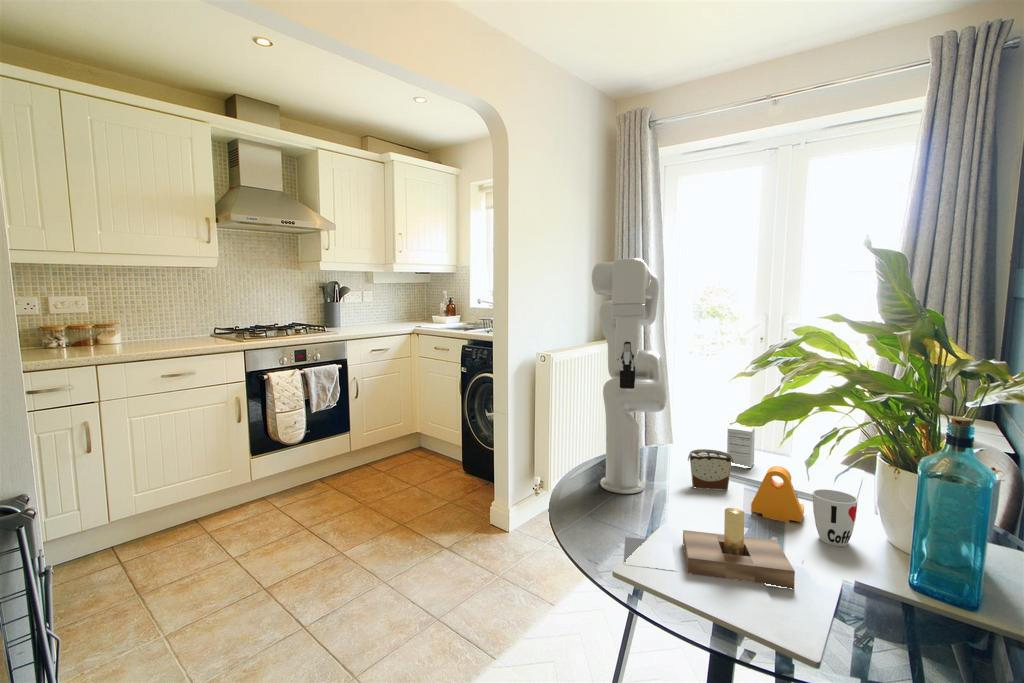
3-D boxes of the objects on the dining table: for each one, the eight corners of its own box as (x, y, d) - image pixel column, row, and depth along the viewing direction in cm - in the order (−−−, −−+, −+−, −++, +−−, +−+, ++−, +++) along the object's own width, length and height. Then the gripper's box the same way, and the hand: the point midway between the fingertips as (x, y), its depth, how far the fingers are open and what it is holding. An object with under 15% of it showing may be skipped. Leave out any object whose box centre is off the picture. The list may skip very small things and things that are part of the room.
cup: (825, 549, 99) (826, 503, 98) (803, 531, 107) (804, 488, 107) (865, 550, 99) (866, 503, 98) (840, 532, 107) (841, 489, 106)
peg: (722, 560, 95) (723, 507, 94) (741, 562, 94) (742, 508, 93) (725, 569, 91) (726, 514, 91) (745, 571, 90) (746, 516, 90)
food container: (727, 483, 139) (727, 449, 138) (733, 490, 132) (734, 455, 132) (683, 480, 141) (684, 447, 140) (687, 488, 135) (688, 453, 134)
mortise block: (682, 545, 101) (683, 530, 101) (775, 556, 96) (776, 540, 96) (688, 575, 89) (688, 557, 89) (794, 589, 84) (794, 571, 84)
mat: (625, 539, 104) (625, 536, 104) (673, 544, 101) (673, 542, 101) (623, 567, 92) (623, 564, 92) (677, 574, 90) (677, 571, 90)
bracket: (803, 514, 116) (805, 467, 116) (801, 525, 110) (802, 475, 110) (755, 504, 123) (756, 459, 122) (750, 514, 117) (752, 467, 116)
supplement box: (730, 460, 160) (731, 423, 160) (754, 463, 156) (755, 426, 155) (726, 465, 154) (726, 427, 154) (751, 470, 150) (751, 431, 149)
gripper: (613, 312, 118) (613, 379, 119) (609, 312, 102) (608, 390, 103) (644, 312, 116) (644, 380, 117) (645, 311, 100) (644, 391, 101)
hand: (627, 385), depth 110 cm, fingers open, 9 cm apart
